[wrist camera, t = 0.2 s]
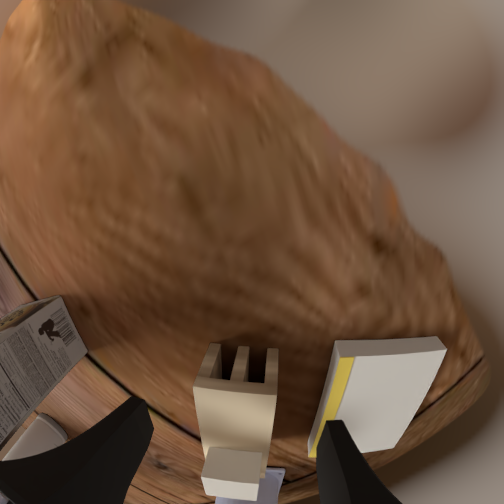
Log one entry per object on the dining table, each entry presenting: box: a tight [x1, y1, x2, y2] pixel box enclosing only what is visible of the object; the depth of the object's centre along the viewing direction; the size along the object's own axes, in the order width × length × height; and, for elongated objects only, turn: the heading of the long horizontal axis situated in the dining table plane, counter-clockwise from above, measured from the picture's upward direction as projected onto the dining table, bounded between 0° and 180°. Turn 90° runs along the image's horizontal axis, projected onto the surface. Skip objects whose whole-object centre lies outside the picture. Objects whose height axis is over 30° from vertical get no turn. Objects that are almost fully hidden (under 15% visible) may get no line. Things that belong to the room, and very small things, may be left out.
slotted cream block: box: [193, 343, 279, 478], centre depth 18 cm, size 12×5×5 cm, turn 178°
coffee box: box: [0, 295, 88, 451], centre depth 14 cm, size 9×6×16 cm
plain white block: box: [201, 446, 262, 501], centre depth 15 cm, size 4×4×3 cm
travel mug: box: [2, 413, 68, 461], centre depth 19 cm, size 6×7×20 cm
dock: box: [308, 336, 447, 457], centre depth 19 cm, size 13×9×2 cm
